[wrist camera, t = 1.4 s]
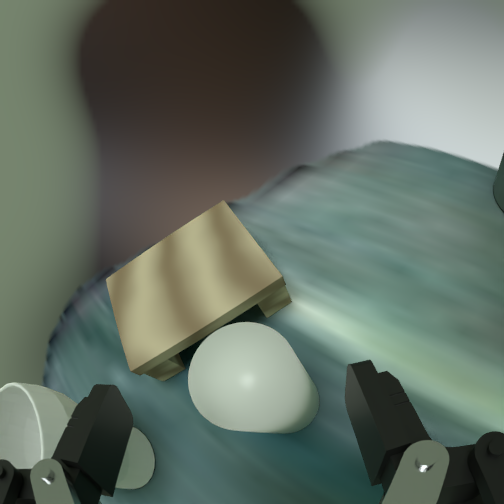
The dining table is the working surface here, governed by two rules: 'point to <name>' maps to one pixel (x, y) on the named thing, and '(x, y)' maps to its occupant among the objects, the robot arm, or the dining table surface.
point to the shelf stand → (190, 290)
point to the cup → (57, 432)
